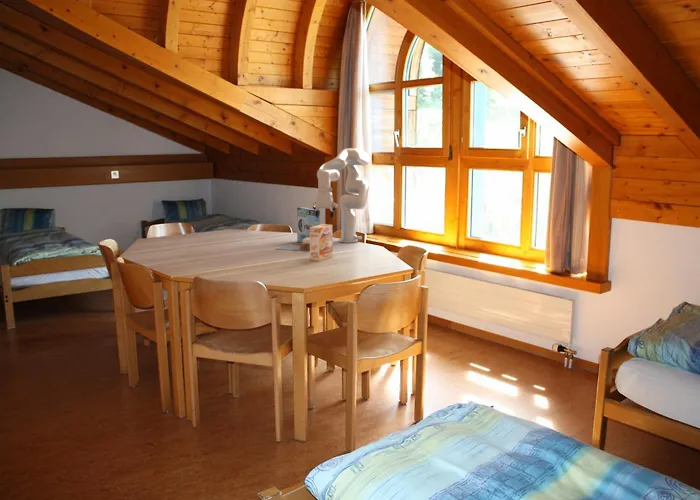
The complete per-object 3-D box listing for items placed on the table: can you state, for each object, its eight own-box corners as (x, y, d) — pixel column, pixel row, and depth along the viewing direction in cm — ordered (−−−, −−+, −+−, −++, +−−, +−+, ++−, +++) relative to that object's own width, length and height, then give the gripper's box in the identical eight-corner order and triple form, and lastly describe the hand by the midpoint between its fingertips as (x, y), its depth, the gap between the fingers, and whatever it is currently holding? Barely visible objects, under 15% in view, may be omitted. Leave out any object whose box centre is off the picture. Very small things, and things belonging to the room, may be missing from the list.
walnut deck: (320, 247, 436) (320, 240, 435) (313, 250, 422) (313, 244, 422) (306, 246, 438) (306, 240, 437) (299, 250, 425) (299, 243, 424)
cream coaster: (318, 241, 432) (318, 238, 432) (314, 243, 425) (314, 240, 424) (306, 241, 434) (306, 237, 434) (302, 243, 427) (302, 239, 426)
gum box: (297, 241, 457) (296, 207, 453) (303, 240, 460) (302, 207, 456) (314, 245, 442) (313, 210, 438) (320, 244, 445) (320, 209, 441)
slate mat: (306, 246, 439) (306, 245, 439) (298, 250, 424) (298, 250, 424) (284, 245, 443) (284, 244, 443) (275, 249, 428) (275, 248, 428)
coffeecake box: (319, 261, 390) (319, 227, 387) (309, 260, 394) (309, 226, 390) (333, 257, 403) (332, 224, 400) (322, 255, 407) (322, 223, 403)
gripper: (339, 189, 422) (339, 217, 425) (313, 189, 427) (313, 216, 430) (336, 190, 415) (336, 218, 418) (309, 190, 420) (309, 217, 423)
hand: (324, 217), depth 424 cm, fingers open, 8 cm apart
